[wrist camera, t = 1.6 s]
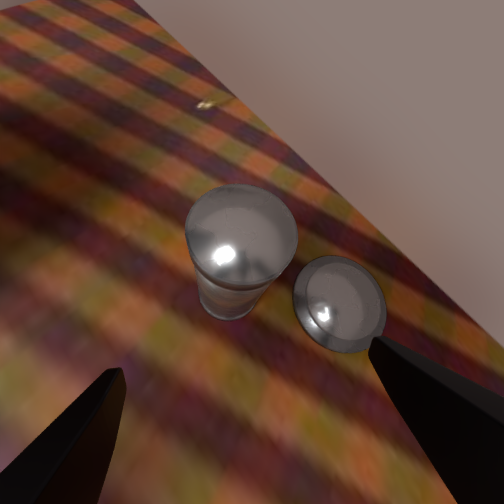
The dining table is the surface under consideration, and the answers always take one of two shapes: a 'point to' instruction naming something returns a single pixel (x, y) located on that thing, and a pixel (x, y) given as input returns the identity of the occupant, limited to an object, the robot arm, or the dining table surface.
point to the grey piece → (238, 246)
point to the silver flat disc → (339, 304)
